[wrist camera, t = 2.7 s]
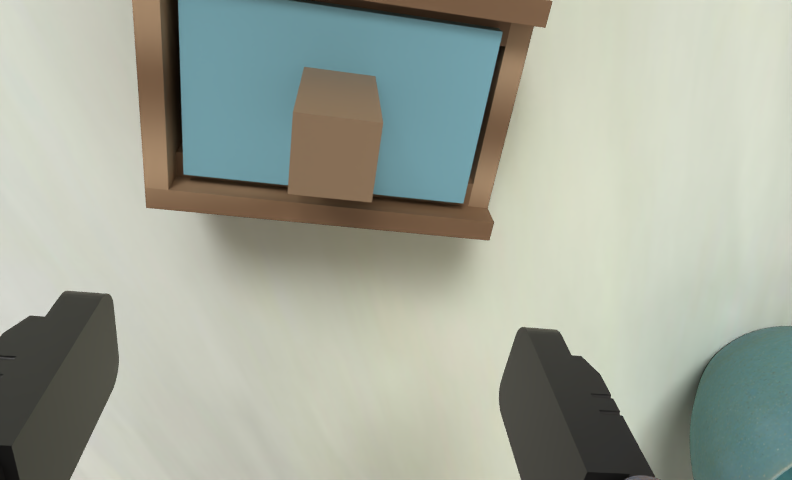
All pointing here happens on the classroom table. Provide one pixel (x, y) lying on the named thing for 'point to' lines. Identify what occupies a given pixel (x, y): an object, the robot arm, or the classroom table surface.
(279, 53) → the lid
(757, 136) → the classroom table surface
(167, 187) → the brown wooden shelf box
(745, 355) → the plant pot
